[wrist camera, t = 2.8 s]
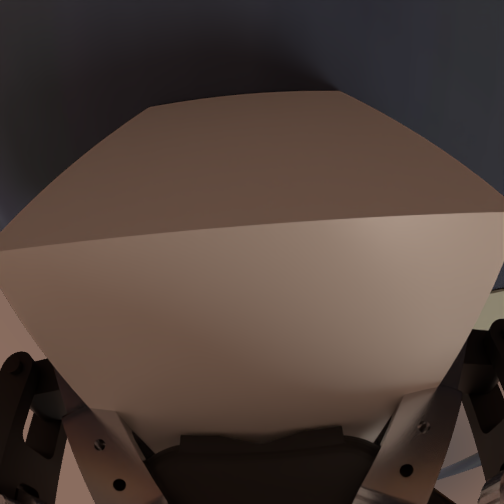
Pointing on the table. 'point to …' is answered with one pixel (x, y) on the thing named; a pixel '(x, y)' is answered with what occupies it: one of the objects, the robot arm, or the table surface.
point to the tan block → (255, 267)
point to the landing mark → (491, 310)
